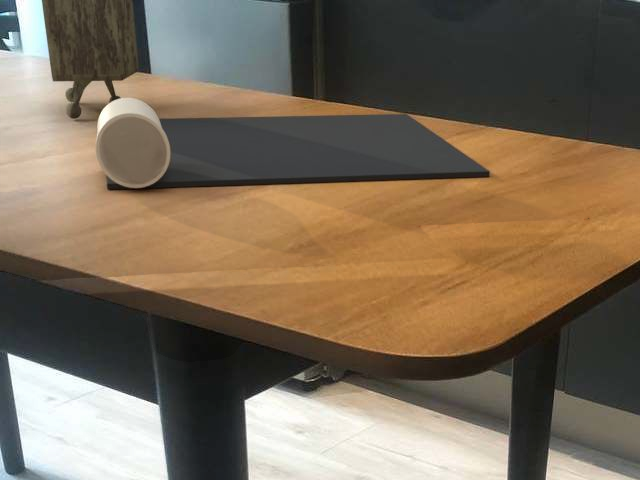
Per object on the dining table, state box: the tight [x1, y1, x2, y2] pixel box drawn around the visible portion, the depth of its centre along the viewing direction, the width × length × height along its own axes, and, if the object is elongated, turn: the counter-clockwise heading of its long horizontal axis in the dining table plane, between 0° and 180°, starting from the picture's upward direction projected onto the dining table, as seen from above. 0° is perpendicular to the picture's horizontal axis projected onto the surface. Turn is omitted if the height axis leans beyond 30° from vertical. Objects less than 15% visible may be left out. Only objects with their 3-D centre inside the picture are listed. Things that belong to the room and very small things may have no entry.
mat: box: [105, 113, 491, 191], centre depth 108 cm, size 34×30×1 cm
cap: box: [94, 97, 170, 189], centre depth 93 cm, size 6×6×9 cm
